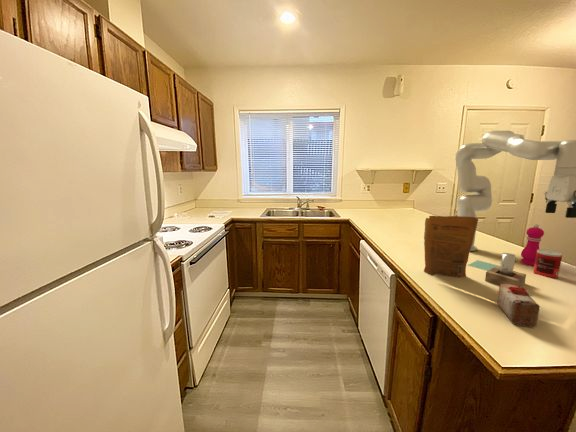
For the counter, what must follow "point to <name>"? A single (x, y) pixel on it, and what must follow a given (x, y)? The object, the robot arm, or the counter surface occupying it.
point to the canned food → (547, 263)
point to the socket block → (505, 277)
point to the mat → (483, 265)
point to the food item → (518, 305)
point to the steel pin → (507, 264)
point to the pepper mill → (532, 245)
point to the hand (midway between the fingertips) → (559, 215)
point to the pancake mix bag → (448, 244)
